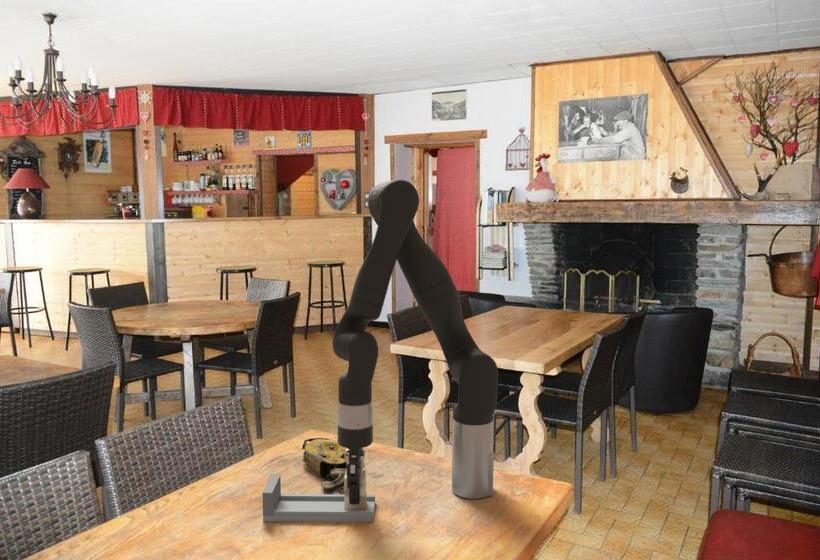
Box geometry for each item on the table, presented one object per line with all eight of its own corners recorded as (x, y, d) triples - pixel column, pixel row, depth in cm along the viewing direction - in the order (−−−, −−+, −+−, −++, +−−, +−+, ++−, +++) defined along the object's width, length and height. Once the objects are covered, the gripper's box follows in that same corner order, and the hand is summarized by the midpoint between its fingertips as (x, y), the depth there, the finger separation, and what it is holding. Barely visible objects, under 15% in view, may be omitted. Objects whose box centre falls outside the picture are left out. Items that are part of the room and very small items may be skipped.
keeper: (366, 500, 149) (366, 470, 148) (365, 510, 144) (364, 478, 144) (346, 500, 149) (346, 470, 148) (344, 509, 144) (344, 478, 144)
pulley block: (307, 473, 151) (302, 428, 181) (304, 498, 152) (299, 449, 181) (370, 477, 154) (355, 433, 184) (366, 502, 155) (351, 454, 184)
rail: (375, 502, 151) (375, 476, 150) (372, 521, 142) (372, 493, 142) (271, 501, 151) (271, 475, 151) (263, 521, 142) (262, 492, 142)
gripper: (370, 433, 137) (370, 514, 139) (374, 411, 151) (374, 484, 154) (333, 433, 137) (334, 513, 139) (341, 411, 151) (341, 484, 154)
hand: (355, 498), depth 146 cm, fingers closed on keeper, 4 cm apart
